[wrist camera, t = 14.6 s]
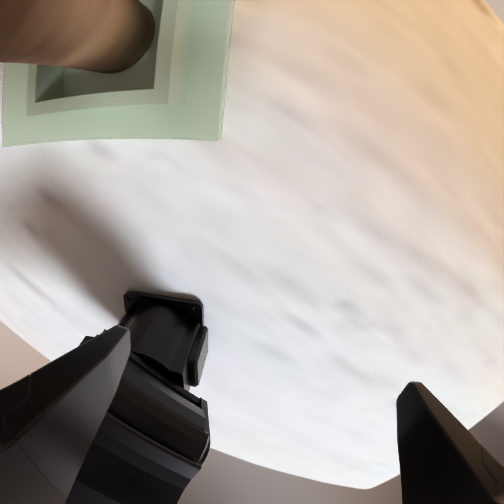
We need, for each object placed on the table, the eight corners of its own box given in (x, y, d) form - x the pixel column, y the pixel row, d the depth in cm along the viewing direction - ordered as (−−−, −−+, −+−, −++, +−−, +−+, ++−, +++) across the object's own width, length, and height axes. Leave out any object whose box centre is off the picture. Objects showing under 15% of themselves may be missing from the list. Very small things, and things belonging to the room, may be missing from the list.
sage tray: (12, 144, 19) (-23, 155, 15) (26, -9, 13) (-7, -17, 9) (221, 139, 19) (206, 146, 15) (241, -55, 13) (232, -86, 9)
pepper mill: (80, 79, 16) (-92, 83, 4) (87, 9, 14) (-64, -34, 2) (152, 68, 16) (-24, 31, 4) (159, -6, 14) (24, -103, 2)
